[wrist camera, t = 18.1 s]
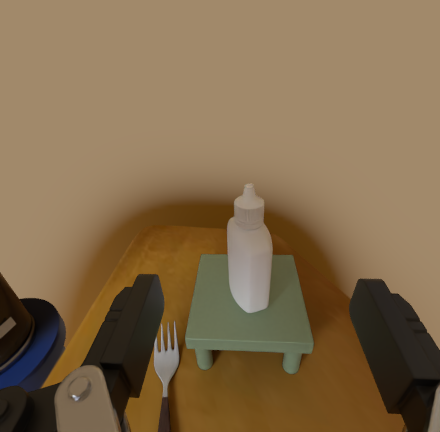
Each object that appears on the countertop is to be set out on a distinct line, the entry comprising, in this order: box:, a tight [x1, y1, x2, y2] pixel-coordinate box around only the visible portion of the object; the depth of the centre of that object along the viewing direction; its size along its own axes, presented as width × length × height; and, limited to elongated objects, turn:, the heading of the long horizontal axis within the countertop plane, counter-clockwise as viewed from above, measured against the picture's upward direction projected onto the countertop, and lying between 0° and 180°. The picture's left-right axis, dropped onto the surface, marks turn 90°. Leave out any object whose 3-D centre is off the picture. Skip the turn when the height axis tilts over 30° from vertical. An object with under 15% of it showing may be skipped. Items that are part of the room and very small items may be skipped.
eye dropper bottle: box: [227, 184, 273, 313], centre depth 24 cm, size 4×6×12 cm
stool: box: [185, 254, 314, 374], centre depth 29 cm, size 11×11×6 cm
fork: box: [154, 321, 179, 432], centre depth 23 cm, size 3×16×2 cm, turn 8°
